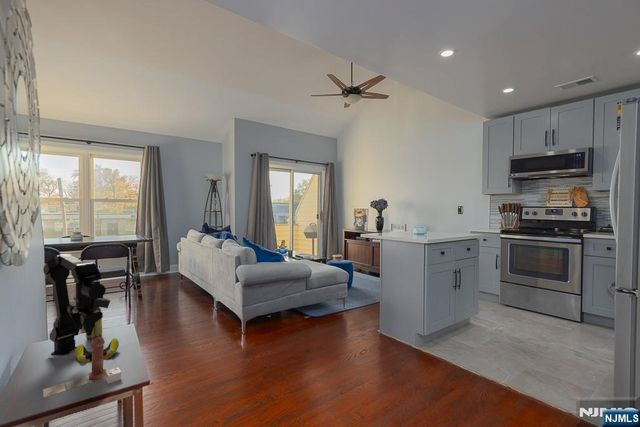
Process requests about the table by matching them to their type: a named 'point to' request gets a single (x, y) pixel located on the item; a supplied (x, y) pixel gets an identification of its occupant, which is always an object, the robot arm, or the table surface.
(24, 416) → the table surface
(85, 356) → the gaming controller
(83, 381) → the game board
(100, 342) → the pawn
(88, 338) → the sauce bottle
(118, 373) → the die
